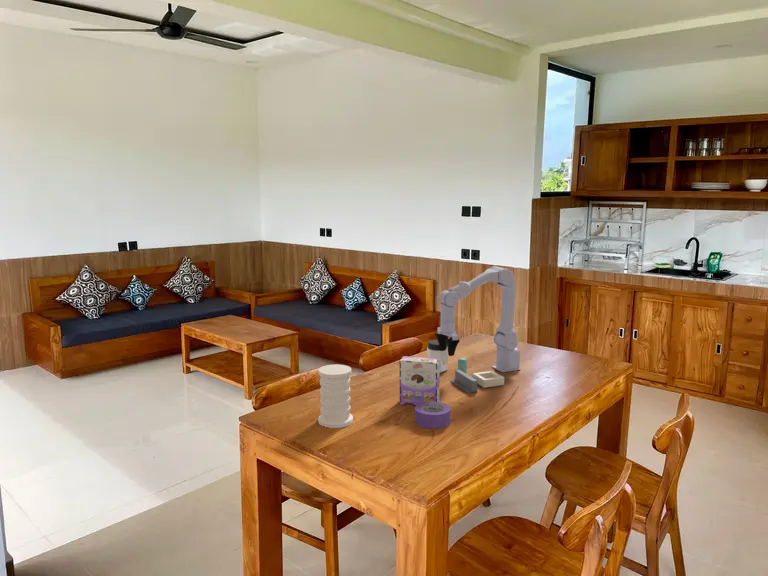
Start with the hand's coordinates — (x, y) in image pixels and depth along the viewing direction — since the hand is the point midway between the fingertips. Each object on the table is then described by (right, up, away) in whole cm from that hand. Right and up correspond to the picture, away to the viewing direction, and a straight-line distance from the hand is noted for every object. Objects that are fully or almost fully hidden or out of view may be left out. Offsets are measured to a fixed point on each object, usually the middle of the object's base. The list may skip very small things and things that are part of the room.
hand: (446, 353), depth 240 cm
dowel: (+7, -10, +3) cm, 12 cm away
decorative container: (-42, -18, -43) cm, 62 cm away
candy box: (-13, -15, -26) cm, 33 cm away
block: (+16, -11, -6) cm, 20 cm away
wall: (+6, -12, -9) cm, 16 cm away
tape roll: (-9, -18, -43) cm, 47 cm away
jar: (-3, -8, +11) cm, 14 cm away
